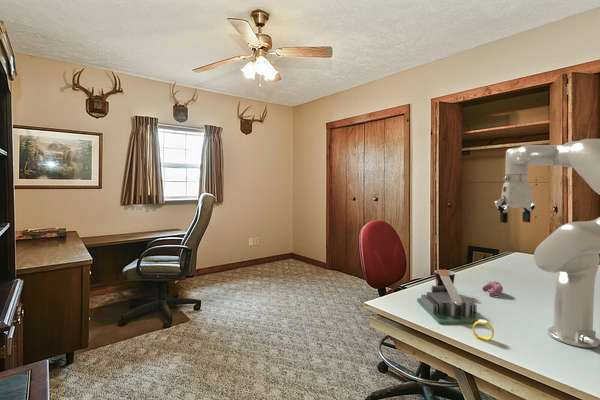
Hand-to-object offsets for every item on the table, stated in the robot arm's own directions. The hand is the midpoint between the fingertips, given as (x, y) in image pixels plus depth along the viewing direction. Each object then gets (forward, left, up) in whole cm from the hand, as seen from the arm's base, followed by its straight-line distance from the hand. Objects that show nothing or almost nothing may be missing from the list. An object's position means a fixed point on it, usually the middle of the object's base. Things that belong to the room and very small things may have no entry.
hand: (515, 222), depth 125 cm
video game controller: (+19, -3, -36) cm, 40 cm away
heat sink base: (-2, +27, -35) cm, 45 cm away
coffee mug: (+18, +20, -36) cm, 44 cm away
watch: (-24, +26, -36) cm, 50 cm away
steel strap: (-3, +27, -26) cm, 37 cm away
